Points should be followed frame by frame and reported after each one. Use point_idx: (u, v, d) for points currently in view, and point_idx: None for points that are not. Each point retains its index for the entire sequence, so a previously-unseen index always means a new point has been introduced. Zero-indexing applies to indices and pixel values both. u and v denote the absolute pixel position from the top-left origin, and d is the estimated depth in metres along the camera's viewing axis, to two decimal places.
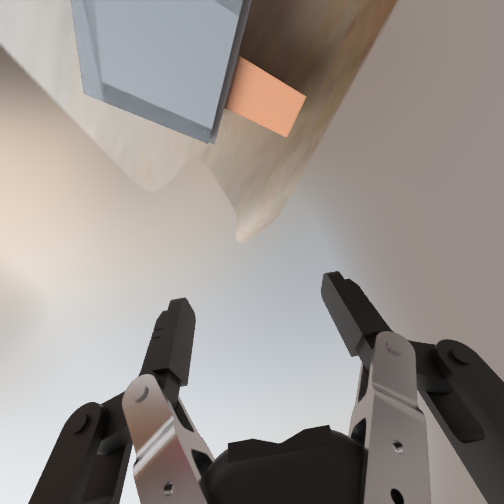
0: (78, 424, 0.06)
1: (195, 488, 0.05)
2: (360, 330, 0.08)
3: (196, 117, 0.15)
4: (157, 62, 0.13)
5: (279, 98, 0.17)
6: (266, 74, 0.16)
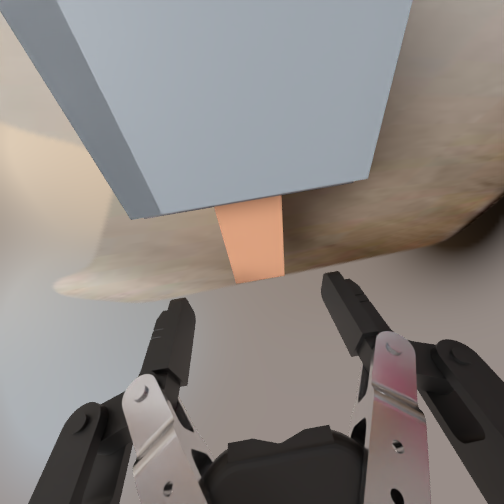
0: (78, 424, 0.06)
1: (195, 488, 0.05)
2: (360, 330, 0.08)
3: (154, 175, 0.06)
4: (184, 23, 0.04)
5: (267, 254, 0.12)
6: (280, 228, 0.11)
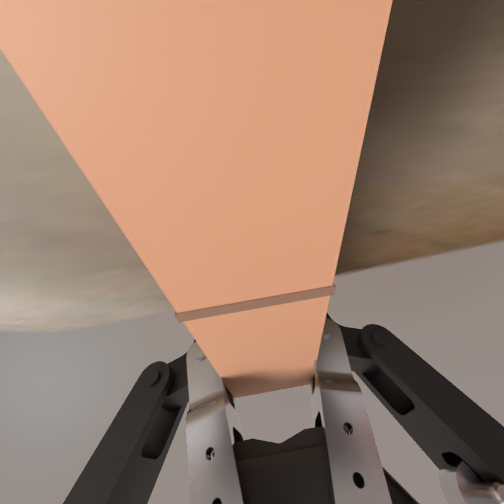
0: (152, 378, 0.07)
1: (232, 469, 0.05)
2: None
3: None
4: None
5: (287, 369, 0.07)
6: (317, 341, 0.06)
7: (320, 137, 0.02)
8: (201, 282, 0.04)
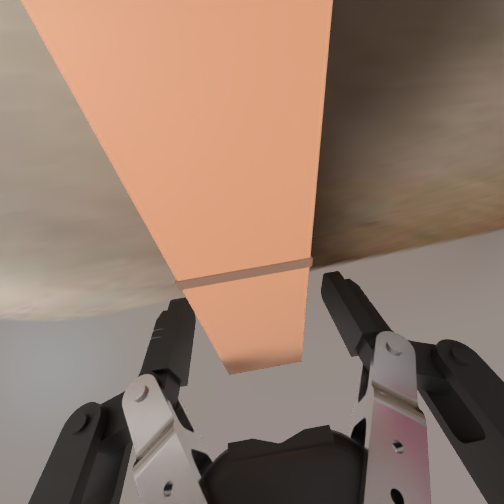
0: (78, 424, 0.06)
1: (195, 488, 0.05)
2: (360, 330, 0.08)
3: None
4: None
5: (277, 344, 0.08)
6: (302, 314, 0.07)
7: (287, 128, 0.03)
8: (197, 251, 0.04)
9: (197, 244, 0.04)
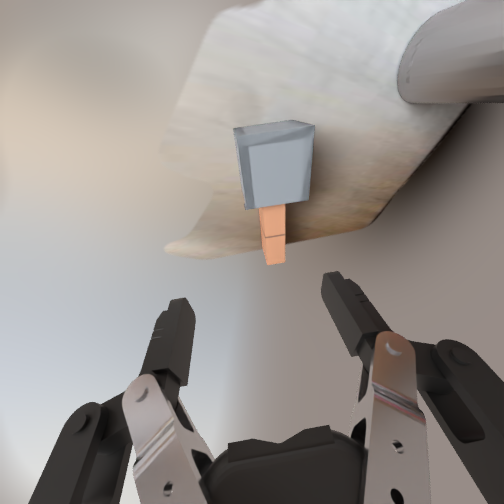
0: (78, 424, 0.06)
1: (195, 488, 0.05)
2: (360, 330, 0.08)
3: (256, 198, 0.26)
4: (270, 173, 0.24)
5: (279, 254, 0.36)
6: (284, 245, 0.35)
7: (281, 219, 0.32)
8: (269, 232, 0.33)
9: (269, 231, 0.33)
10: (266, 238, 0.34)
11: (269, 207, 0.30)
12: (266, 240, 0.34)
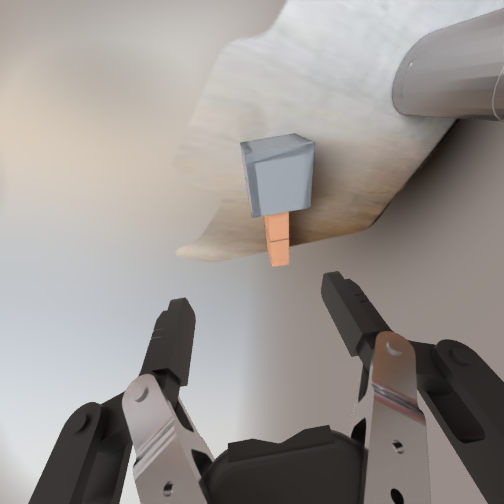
0: (78, 424, 0.06)
1: (195, 488, 0.05)
2: (360, 330, 0.08)
3: (262, 207, 0.29)
4: (275, 185, 0.27)
5: (283, 256, 0.39)
6: (288, 249, 0.38)
7: (285, 224, 0.34)
8: (274, 236, 0.35)
9: (274, 235, 0.35)
10: (271, 242, 0.36)
11: (274, 214, 0.32)
12: (271, 244, 0.36)
